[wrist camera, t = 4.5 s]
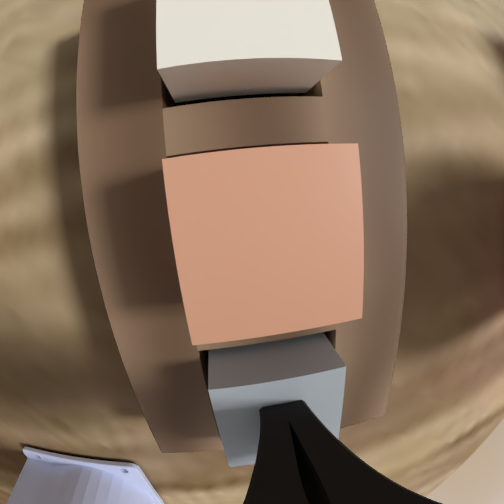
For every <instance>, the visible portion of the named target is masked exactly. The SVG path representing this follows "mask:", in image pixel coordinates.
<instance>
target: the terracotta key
mask: <svg viewBox="0 0 504 504" xmlns="http://www.w3.org/2000/svg"><path fill="white" fill-rule="evenodd" d="M162 165H163V174H164V183H165V191H166V199H167V207H168V214H169V221H170V228H171V235H172V241H173V248H174V254H175V260H176V266H177V271H178V277H179V283H180V288H181V293H182V299H183V304H184V309H185V314H186V319H187V323H188V328H189V333H190V337H191V342H192V345H201V344H210V343H219V342H227V341H235V340H243V339H250V338H257V337H264V336H270V335H277V334H283V333H289V332H295V331H300V330H306V329H311V328H317V327H322V326H327V325H332V324H337V323H342V322H347V321H351V320H356V319H361V318H362V311H363V284H364V229H363V202H362V184H361V170H360V158H359V148H358V143H347V144H305V145H285V146H270V147H257V148H246V149H235V150H226V151H217V152H209V153H201V154H193V155H186V156H179V157H173V158H166V159H162Z"/></svg>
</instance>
